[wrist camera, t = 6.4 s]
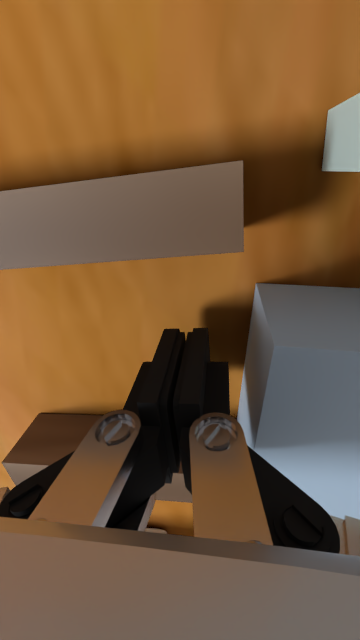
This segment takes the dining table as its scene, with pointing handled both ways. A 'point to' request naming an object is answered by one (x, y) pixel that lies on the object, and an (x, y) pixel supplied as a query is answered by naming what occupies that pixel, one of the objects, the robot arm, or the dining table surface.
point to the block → (306, 390)
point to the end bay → (343, 137)
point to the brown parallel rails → (114, 258)
